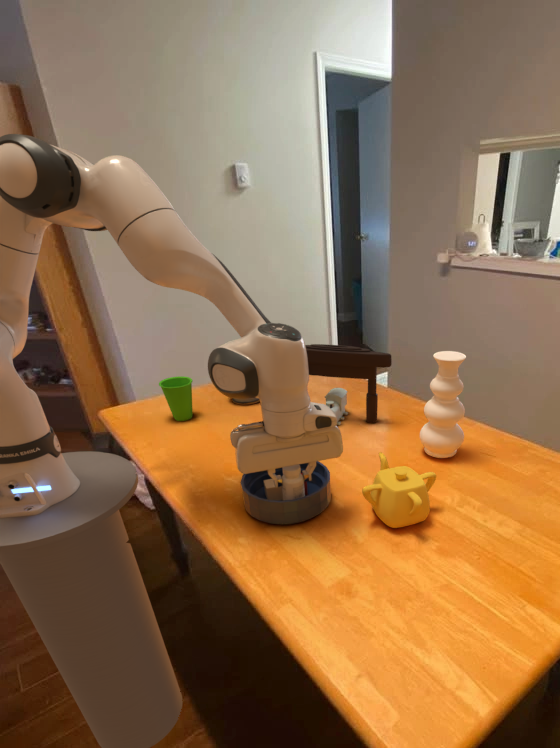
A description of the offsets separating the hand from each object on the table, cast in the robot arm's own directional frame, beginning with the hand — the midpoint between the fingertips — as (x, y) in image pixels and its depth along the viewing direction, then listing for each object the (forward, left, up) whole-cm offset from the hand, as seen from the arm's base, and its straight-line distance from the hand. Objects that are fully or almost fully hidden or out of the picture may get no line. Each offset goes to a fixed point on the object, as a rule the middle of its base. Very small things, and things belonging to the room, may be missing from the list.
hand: (293, 482), depth 91 cm
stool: (+22, +42, -7) cm, 47 cm away
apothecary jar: (+1, +67, -7) cm, 67 cm away
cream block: (-3, +6, -6) cm, 9 cm away
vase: (+41, +13, -7) cm, 43 cm away
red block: (+2, +6, -6) cm, 9 cm away
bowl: (0, +5, -7) cm, 9 cm away
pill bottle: (0, 0, -4) cm, 4 cm away
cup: (-19, +59, -7) cm, 62 cm away
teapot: (+20, -7, -7) cm, 22 cm away
